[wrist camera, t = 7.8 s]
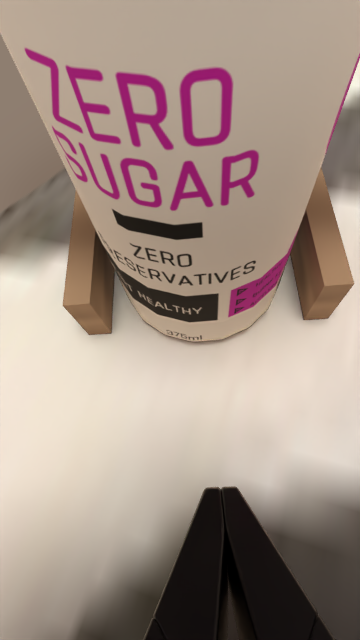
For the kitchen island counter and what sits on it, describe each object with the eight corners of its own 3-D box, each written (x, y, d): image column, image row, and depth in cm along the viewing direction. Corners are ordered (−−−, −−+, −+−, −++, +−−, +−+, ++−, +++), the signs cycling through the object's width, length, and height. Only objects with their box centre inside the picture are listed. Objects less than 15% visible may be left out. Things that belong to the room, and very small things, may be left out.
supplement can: (248, 204, 21) (320, -312, 7) (298, 325, 17) (623, -221, 4) (118, 236, 21) (-66, -227, 7) (143, 363, 17) (-123, -50, 4)
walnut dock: (328, 318, 17) (395, 229, 11) (89, 334, 18) (22, 260, 12) (297, 188, 21) (335, 64, 14) (98, 207, 22) (51, 96, 15)
